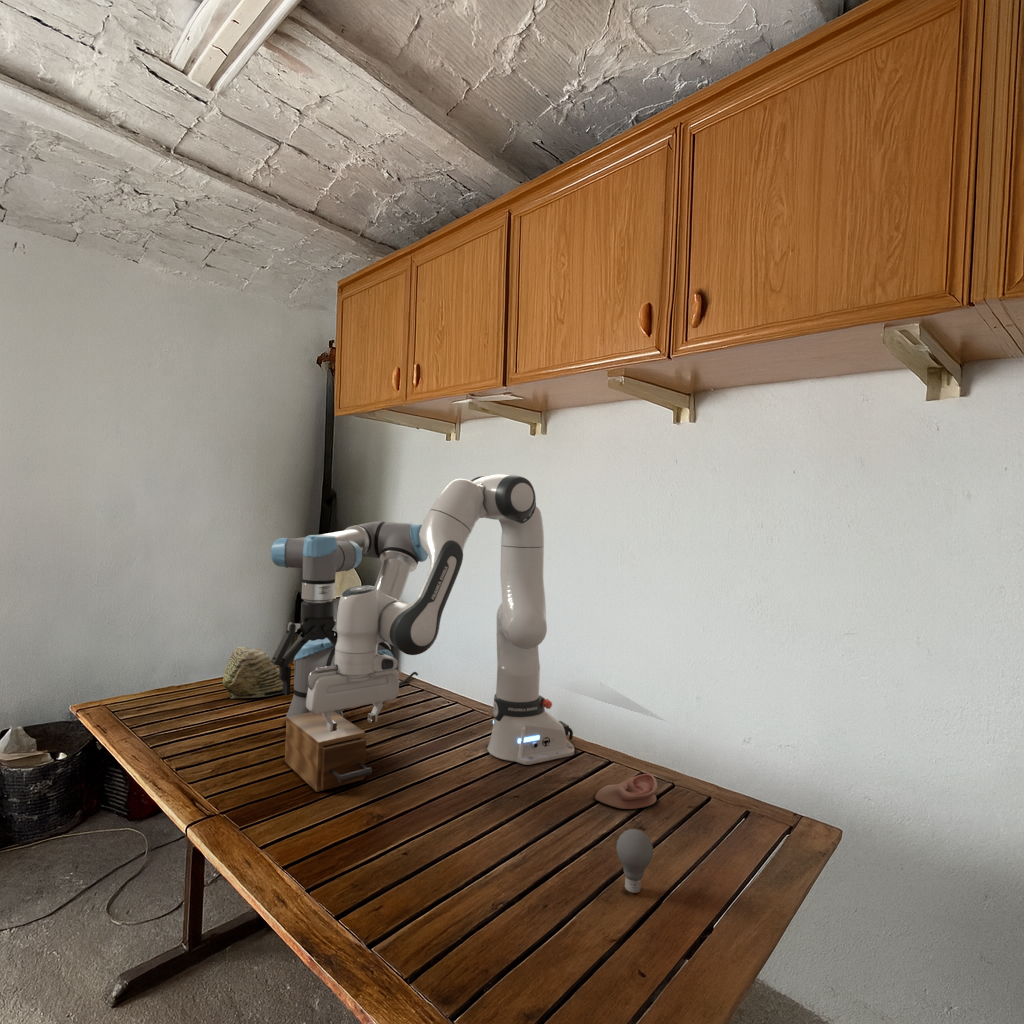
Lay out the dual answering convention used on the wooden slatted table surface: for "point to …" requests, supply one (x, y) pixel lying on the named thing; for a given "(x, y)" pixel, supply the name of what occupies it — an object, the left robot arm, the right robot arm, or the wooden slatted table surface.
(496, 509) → the right robot arm
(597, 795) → the anatomical model
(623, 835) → the light bulb
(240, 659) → the fossil
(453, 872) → the wooden slatted table surface
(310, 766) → the cabinet
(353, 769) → the drawer
